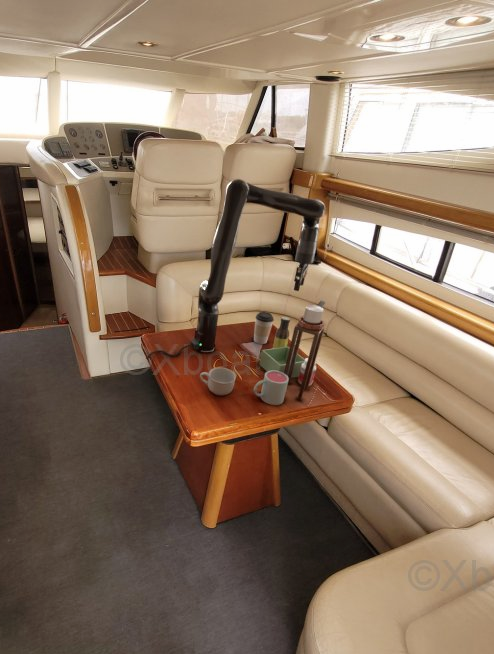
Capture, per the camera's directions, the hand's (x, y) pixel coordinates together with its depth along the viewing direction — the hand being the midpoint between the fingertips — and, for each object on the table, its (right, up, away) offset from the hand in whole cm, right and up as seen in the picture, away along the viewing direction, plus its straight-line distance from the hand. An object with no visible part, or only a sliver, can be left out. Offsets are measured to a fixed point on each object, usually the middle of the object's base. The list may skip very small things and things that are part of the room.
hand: (298, 287), depth 169 cm
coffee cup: (-12, -22, +29) cm, 38 cm away
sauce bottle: (-6, -30, +16) cm, 35 cm away
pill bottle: (+2, -42, -3) cm, 42 cm away
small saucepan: (+1, -16, -20) cm, 26 cm away
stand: (-5, -45, -10) cm, 46 cm away
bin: (-7, -36, +5) cm, 37 cm away
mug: (-17, -47, -16) cm, 53 cm away
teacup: (-37, -44, -14) cm, 59 cm away
